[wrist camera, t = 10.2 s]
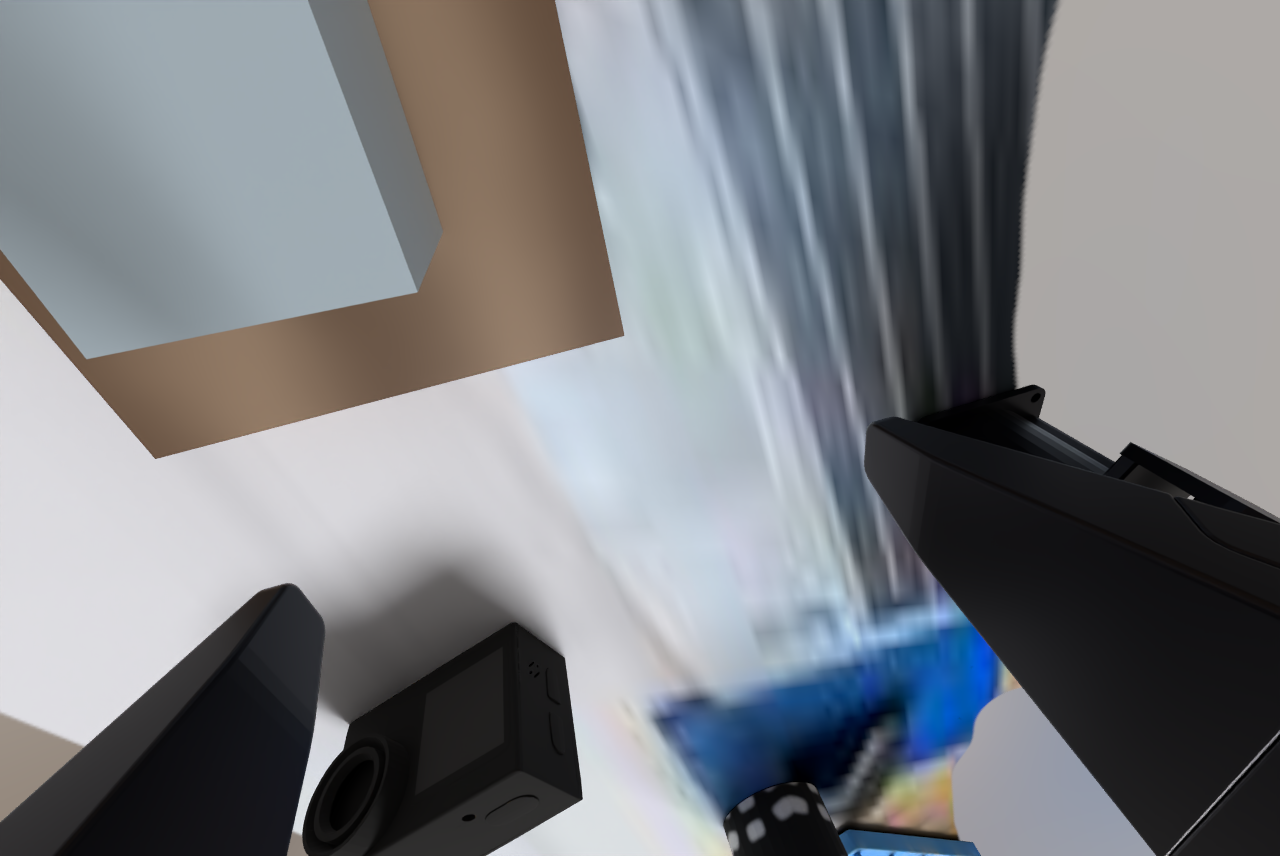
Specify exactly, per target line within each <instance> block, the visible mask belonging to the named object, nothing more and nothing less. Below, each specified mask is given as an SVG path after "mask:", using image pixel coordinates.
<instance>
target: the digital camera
mask: <svg viewBox="0 0 1280 856" xmlns="http://www.w3.org/2000/svg"><path fill="white" fill-rule="evenodd" d="M517 633H518V637H517ZM518 655H519V660H518ZM532 662H534V664H533V665H532V666H531V667H529V666H528V665H529V664H531V663H532ZM537 665H538V666H539V667H538V668H537ZM531 670H532V672H533V673H532V674H529V672H530V671H531ZM519 677H520V681H519ZM582 799H583V797H582V786H581V777H580V769H579V762H578V754H577V747H576V739H575V731H574V724H573V716H572V709H571V701H570V693H569V686H568V678H567V671H566V663H565V658H564V657H562V656H561V655H559V654H558V653H557V652H555V651H554V650H552V649H551V648H550V647H548V646H547V645H546V644H544V643H543V642H542V641H540V640H539V639H537V638H536V637H535V636H533V635H532V634H531V633H529V632H528V631H527V630H525V629H524V628H523V627H521V626H520V625H518V624H517V623H511V624H509V625H508V626H506V627H505V628H503V629H501V630H500V631H498V632H496V633H495V634H493V635H491V636H490V637H488V638H486V639H485V640H483V641H482V642H480V643H478V644H477V645H475V646H474V647H472V648H470V649H469V650H467V651H466V652H464V653H462V654H461V655H459V656H458V657H456V658H454V659H453V660H451V661H450V662H448V663H446V664H445V665H443V666H441V667H440V668H438V669H437V670H435V671H433V672H432V673H430V674H429V675H427V676H425V677H424V678H422V679H421V680H419V681H417V682H416V683H414V684H413V685H411V686H409V687H408V688H406V689H405V690H403V691H401V692H400V693H398V694H397V695H395V696H393V697H392V698H390V699H389V700H387V701H386V702H384V703H382V704H381V705H379V706H378V707H376V708H375V709H373V710H371V711H370V712H368V713H367V714H365V715H364V716H362V717H360V718H359V719H357V720H356V721H354V722H353V723H351V724H350V725H349V729H348V732H347V736H346V741H345V745H344V749H343V751H342V752H341V753H340V754H339V755H338V756H337V757H336V759H335V760H334V761H333V762H332V764H331V765H330V766H329V768H328V769H327V771H326V772H325V774H324V775H323V777H322V778H321V780H320V782H319V784H318V786H317V788H316V790H315V792H314V794H313V796H312V798H311V801H310V803H309V806H308V809H307V812H306V816H305V820H304V825H303V833H302V838H303V846H304V849H305V851H306V853H307V854H308V856H486V855H488V854H490V853H491V852H493V851H495V850H497V849H498V848H500V847H502V846H504V845H505V844H507V843H509V842H511V841H512V840H514V839H516V838H518V837H519V836H521V835H523V834H524V833H526V832H528V831H530V830H531V829H533V828H535V827H536V826H538V825H540V824H541V823H543V822H545V821H547V820H548V819H550V818H552V817H553V816H555V815H557V814H558V813H560V812H562V811H564V810H565V809H567V808H569V807H570V806H572V805H574V804H576V803H577V802H579V801H581V800H582Z"/></svg>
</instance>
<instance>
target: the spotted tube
mask: <svg viewBox="0 0 1280 856" xmlns="http://www.w3.org/2000/svg"><path fill="white" fill-rule="evenodd" d="M724 829H725V832H726V836H727V839H728V842H729V845H730V848H731V851H732V855H733V856H848V854H847V852H846V850H845V848H844V845H843V843H842V841H841V839H840V837H839V835H838V833H837V831H836V828H835V826H834V824H833V822H832V820H831V818H830V816H829V814H828V811H827V809H826V807H825V805H824V803H823V801H822V799H821V797H820V794H819V792H818V790H817V789H816V787H815V786H814V785H812V784H809V783H805V782H791V783H785V784H780V785H777V786H773V787H770V788H768V789H765V790H762V791H760V792H758V793H756V794H754V795H752V796H750V797H749V798H747V799H745V800H744V801H743V802H741V803H740V804H738V805H737V806H736V807H735V808H734V809H733V810H732V811H731V812H730V813H729V814H728V816H727V817H726V819H725V821H724Z"/></svg>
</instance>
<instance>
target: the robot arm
mask: <svg viewBox="0 0 1280 856" xmlns="http://www.w3.org/2000/svg"><path fill="white" fill-rule="evenodd" d="M1044 397H1045V390H1044V389H1042V388H1041V387H1039V386H1037V385H1029V386H1026V387H1023V388H1019V389H1016V390H1013V391H1009V392H1006V393H1003V394H999V395H996V396H993V397H989V398H986V399H983V400H980V401H976V402H973V403H970V404H966V405H963V406H960V407H956V408H953V409H950V410H946V411H943V412H940V413H937V414H933V415H930V416H927V417H924V418H922V419H920V420H919V421H918V422H917V423H916V422H913V421H909V420H906V419H902V418H899V417H889V418H885V419H882V420H878V421H874V422H872V423H870V424H869V425H868V427H867V430H866V442H865V457H864V467H865V472H866V474H867V477H868V479H869V480H870V482H871V484H872V485H873V487H874V488H875V490H876V491H877V493H878V495H879V496H880V498H881V499H882V501H883V503H884V504H885V506H886V507H887V509H888V510H889V512H890V514H891V515H892V517H893V518H894V520H895V521H896V523H897V525H898V526H899V528H900V529H901V531H902V533H903V534H904V536H905V537H906V539H907V540H908V542H909V543H910V545H911V546H912V548H913V549H914V551H915V552H916V554H917V555H918V556H919V558H920V559H921V560H922V562H923V563H924V564H925V566H926V567H927V568H928V570H929V571H930V572H931V573H932V575H933V576H934V577H935V578H936V580H937V581H938V582H939V583H940V585H941V586H942V587H943V588H944V590H945V591H946V592H947V593H948V595H949V596H950V597H951V598H952V600H953V601H954V602H955V603H956V605H957V606H958V607H959V608H960V610H961V611H962V612H963V613H964V615H965V616H966V617H967V618H968V620H969V621H970V622H971V624H972V625H973V626H974V627H975V629H976V630H977V631H978V632H979V634H980V635H981V636H982V637H983V639H984V640H985V641H986V642H987V644H988V645H989V646H990V647H991V649H992V650H993V651H994V652H995V654H996V655H997V656H998V657H999V659H1000V660H1001V661H1002V662H1003V664H1004V665H1005V666H1006V667H1007V669H1008V670H1009V671H1010V673H1011V674H1012V675H1013V676H1014V678H1015V679H1016V680H1017V681H1018V683H1019V684H1020V685H1021V686H1022V688H1023V689H1024V690H1025V691H1026V693H1027V694H1028V695H1029V696H1030V698H1031V699H1032V700H1033V701H1034V702H1035V704H1036V705H1037V706H1038V708H1039V709H1040V710H1041V711H1042V713H1043V714H1044V715H1045V716H1046V718H1047V719H1048V720H1049V721H1050V723H1051V724H1052V725H1053V726H1054V728H1055V729H1056V730H1057V732H1058V733H1059V734H1060V735H1061V737H1062V738H1063V739H1064V740H1065V742H1066V743H1067V744H1068V745H1069V747H1070V748H1071V749H1072V750H1073V752H1074V753H1075V754H1076V755H1077V757H1078V758H1079V759H1080V760H1081V762H1082V763H1083V764H1084V765H1085V767H1086V768H1087V769H1088V770H1089V772H1090V773H1091V774H1092V776H1093V777H1094V778H1095V779H1096V781H1097V782H1098V783H1099V784H1100V786H1101V787H1102V788H1103V789H1104V791H1105V792H1106V793H1107V794H1108V796H1109V797H1110V798H1111V799H1112V801H1113V802H1114V803H1115V804H1116V806H1117V807H1118V808H1119V809H1120V811H1121V812H1122V813H1123V814H1124V816H1125V817H1126V818H1127V819H1128V821H1129V822H1130V823H1131V824H1132V826H1133V827H1134V828H1135V829H1136V830H1137V832H1138V833H1139V834H1140V836H1141V837H1142V838H1143V840H1144V841H1145V842H1146V843H1147V845H1148V846H1149V847H1150V848H1151V850H1152V851H1153V852H1154V853H1155V855H1156V856H1280V518H1278V517H1276V516H1275V515H1272V514H1271V513H1269V512H1267V511H1265V510H1264V509H1262V508H1260V507H1258V506H1256V505H1255V504H1253V503H1250V502H1249V501H1247V500H1245V499H1243V498H1241V497H1239V496H1237V495H1236V494H1234V493H1231V492H1230V491H1228V490H1226V489H1224V488H1222V487H1220V486H1218V485H1216V484H1214V483H1212V482H1211V481H1208V480H1207V479H1205V478H1203V477H1201V476H1199V475H1197V474H1195V473H1193V472H1191V471H1189V470H1187V469H1185V468H1183V467H1181V466H1179V465H1177V464H1175V463H1173V462H1171V461H1169V460H1167V459H1165V458H1162V457H1160V456H1158V455H1156V454H1154V453H1152V452H1150V451H1148V450H1146V449H1144V448H1142V447H1140V446H1138V445H1135V444H1133V443H1131V442H1130V443H1129V444H1128V445H1127V446H1126V447H1125V448H1124V449H1123V451H1122V452H1121V453H1120V454H1121V455H1122V456H1121V457H1120V458H1119V459H1118V460H1117V461H1116V462H1114V461H1112V460H1110V459H1109V458H1107V457H1105V456H1103V455H1102V454H1100V453H1098V452H1096V451H1094V450H1093V449H1091V448H1090V447H1088V446H1086V445H1084V444H1083V443H1081V442H1079V441H1077V440H1076V439H1074V438H1072V437H1070V436H1069V435H1067V434H1065V433H1064V432H1062V431H1060V430H1058V429H1057V428H1055V427H1053V426H1051V425H1050V424H1048V423H1046V422H1044V421H1043V420H1041V419H1039V415H1040V412H1041V408H1042V404H1043V401H1044ZM1190 495H1192V496H1193V497H1195V498H1194V499H1193V500H1190V499H1187V498H1188V497H1189V496H1190ZM324 639H325V625H324V622H323V619H322V617H321V615H320V614H319V613H318V612H317V610H316V609H315V608H314V606H313V605H312V604H311V603H310V601H309V600H308V599H307V598H306V596H305V595H304V594H303V592H302V591H301V590H300V589H299V588H298V587H297V586H296V585H294V584H292V583H285V584H281V585H278V586H274V587H271V588H267V589H264V590H261V591H260V592H258V593H257V594H255V595H254V596H253V597H252V598H251V599H250V600H249V601H248V602H246V603H245V604H244V605H243V606H242V607H241V608H240V609H239V610H237V611H236V612H235V613H234V614H233V615H232V616H231V617H230V618H228V619H227V620H226V621H225V622H224V623H223V624H222V625H221V626H220V627H218V628H217V629H216V630H215V631H214V632H213V633H212V634H211V635H209V636H208V637H207V638H206V639H205V640H204V641H203V642H202V643H200V644H199V645H198V646H197V647H196V648H195V649H194V650H193V651H192V652H190V653H189V654H188V655H187V656H186V657H185V658H184V659H183V660H181V661H180V662H179V663H178V664H177V665H176V666H175V667H174V668H172V669H171V670H170V671H169V672H168V673H167V674H166V675H165V676H164V677H162V678H161V679H160V680H159V681H158V682H157V683H156V684H155V685H153V686H152V687H151V688H150V689H149V690H148V691H147V692H146V693H144V694H143V695H142V696H141V697H140V698H139V699H138V700H137V701H136V702H134V703H133V704H132V705H131V706H130V707H129V708H128V709H127V710H125V711H124V712H123V713H122V714H121V715H120V716H119V717H118V718H116V719H115V720H114V721H113V722H112V723H111V724H110V725H109V726H108V727H106V728H105V729H104V730H103V731H102V732H101V733H100V734H99V735H97V736H96V737H95V738H94V739H93V740H92V741H91V742H90V743H88V744H87V745H86V746H85V747H84V748H83V749H82V750H81V751H80V752H78V753H77V754H76V755H75V756H74V757H73V758H72V759H71V760H69V761H68V762H67V763H66V764H65V765H64V766H63V767H62V768H61V769H59V770H58V771H57V772H56V773H55V774H54V775H53V776H52V777H50V778H49V779H48V780H47V781H46V782H45V783H44V784H43V785H41V786H40V787H39V788H38V789H37V790H36V791H35V792H34V793H32V794H31V795H30V796H29V797H28V798H27V799H26V800H25V801H24V802H22V803H21V804H20V805H19V806H18V807H17V808H16V809H15V810H13V811H12V812H11V813H10V814H9V815H8V816H7V817H6V818H4V819H3V820H2V821H1V822H0V856H287V852H288V847H289V843H290V839H291V834H292V830H293V825H294V821H295V816H296V812H297V807H298V803H299V798H300V794H301V789H302V785H303V780H304V776H305V771H306V767H307V762H308V758H309V753H310V748H311V743H312V738H313V732H314V725H315V719H316V710H317V701H318V692H319V683H320V675H321V666H322V657H323V648H324Z"/></svg>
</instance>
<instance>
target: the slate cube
mask: <svg viewBox="0 0 1280 856" xmlns="http://www.w3.org/2000/svg"><path fill="white" fill-rule="evenodd" d="M442 233H443V230H442V227H441V224H440V221H439V218H438V215H437V212H436V208H435V205H434V202H433V199H432V196H431V193H430V190H429V187H428V184H427V181H426V178H425V175H424V172H423V169H422V166H421V163H420V160H419V157H418V154H417V151H416V148H415V145H414V141H413V138H412V135H411V132H410V129H409V126H408V123H407V120H406V117H405V114H404V111H403V108H402V105H401V102H400V99H399V96H398V93H397V90H396V87H395V84H394V81H393V77H392V74H391V71H390V68H389V65H388V62H387V59H386V56H385V53H384V50H383V47H382V44H381V41H380V38H379V35H378V32H377V29H376V26H375V23H374V20H373V17H372V14H371V10H370V7H369V4H368V1H367V0H0V250H1V251H2V252H3V254H4V255H5V256H6V257H7V259H8V260H9V261H10V262H11V264H12V265H13V266H14V268H15V269H16V270H17V271H18V273H19V274H20V275H21V276H22V278H23V279H24V280H25V282H26V283H27V284H28V285H29V287H30V288H31V289H32V290H33V292H34V293H35V294H36V296H37V297H38V298H39V299H40V301H41V302H42V303H43V304H44V306H45V307H46V308H47V310H48V311H49V312H50V313H51V315H52V316H53V317H54V319H55V320H56V321H57V322H58V324H59V325H60V326H61V327H62V329H63V330H64V331H65V333H66V334H67V335H68V336H69V338H70V339H71V340H72V341H73V343H74V344H75V345H76V347H77V348H78V349H79V350H80V352H81V353H82V354H83V355H84V357H85V358H86V359H90V358H95V357H100V356H105V355H110V354H115V353H120V352H125V351H130V350H135V349H140V348H145V347H150V346H154V345H159V344H164V343H169V342H174V341H179V340H184V339H189V338H194V337H199V336H204V335H209V334H214V333H219V332H224V331H229V330H234V329H239V328H244V327H249V326H253V325H258V324H263V323H268V322H273V321H278V320H283V319H288V318H293V317H298V316H303V315H308V314H313V313H318V312H323V311H328V310H333V309H338V308H343V307H347V306H352V305H357V304H362V303H367V302H372V301H377V300H382V299H387V298H392V297H397V296H402V295H407V294H412V293H417V292H418V290H419V288H420V286H421V283H422V281H423V278H424V276H425V274H426V271H427V269H428V267H429V264H430V262H431V259H432V257H433V255H434V252H435V250H436V248H437V245H438V243H439V240H440V238H441V236H442Z"/></svg>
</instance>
